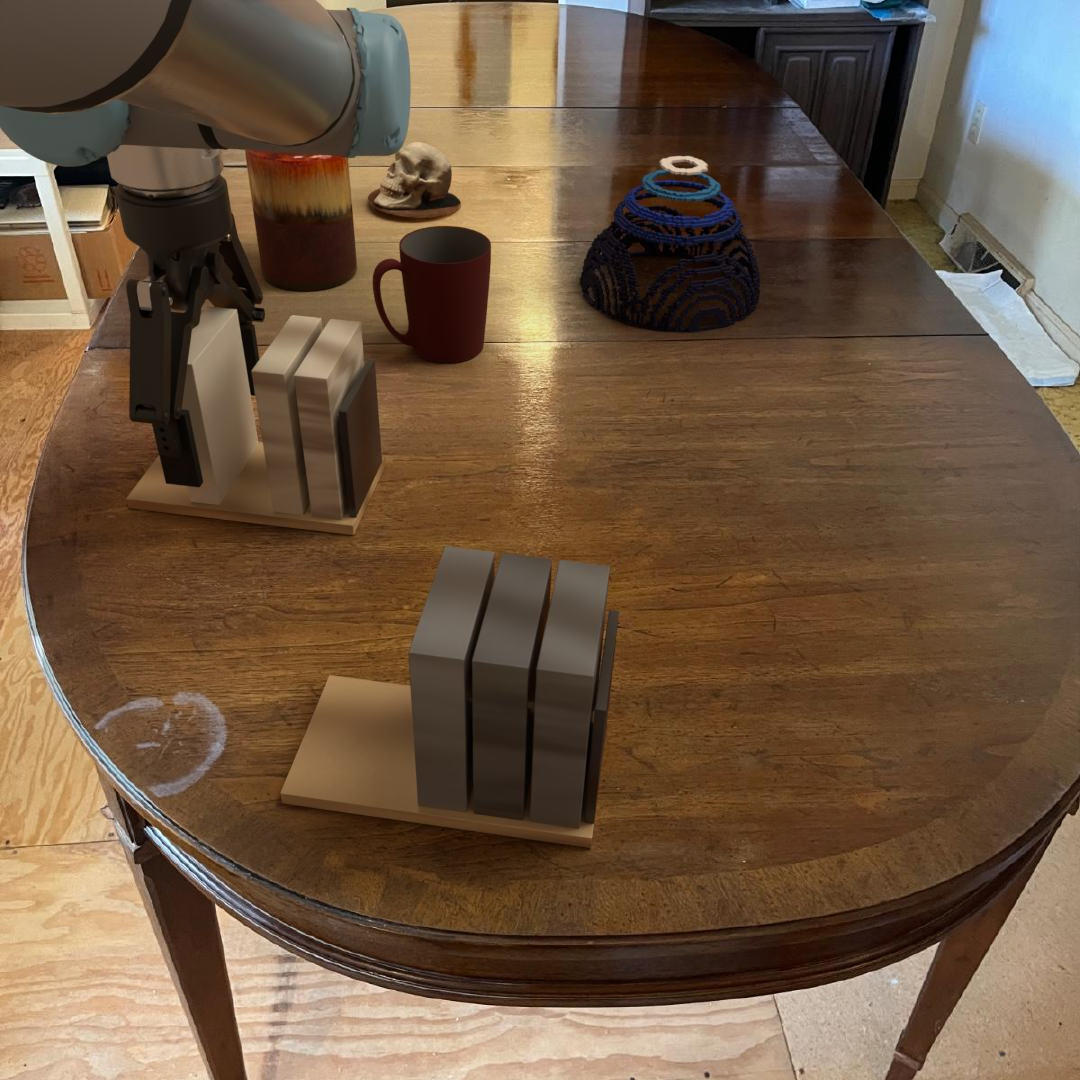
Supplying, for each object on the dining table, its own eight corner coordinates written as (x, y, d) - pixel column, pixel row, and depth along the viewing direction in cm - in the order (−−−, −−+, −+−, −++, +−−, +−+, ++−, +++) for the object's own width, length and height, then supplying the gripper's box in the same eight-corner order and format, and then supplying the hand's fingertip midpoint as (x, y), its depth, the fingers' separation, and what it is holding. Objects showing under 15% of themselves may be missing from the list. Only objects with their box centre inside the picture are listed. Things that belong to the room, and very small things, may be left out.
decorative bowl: (555, 263, 126) (560, 140, 117) (706, 244, 132) (722, 126, 123) (622, 342, 112) (634, 208, 102) (788, 317, 117) (813, 188, 108)
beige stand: (353, 535, 85) (338, 383, 76) (128, 508, 87) (87, 357, 78) (386, 465, 93) (375, 319, 84) (178, 441, 95) (146, 296, 86)
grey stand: (591, 848, 63) (608, 685, 54) (281, 803, 65) (249, 638, 56) (607, 721, 71) (624, 561, 62) (330, 684, 73) (309, 523, 64)
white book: (220, 505, 86) (192, 364, 78) (190, 502, 86) (159, 360, 78) (258, 444, 93) (237, 308, 85) (231, 441, 93) (207, 305, 85)
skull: (394, 223, 131) (366, 144, 130) (374, 253, 140) (347, 179, 140) (480, 203, 135) (453, 127, 135) (455, 233, 145) (429, 162, 145)
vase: (296, 244, 128) (275, 65, 115) (374, 262, 125) (362, 80, 112) (242, 279, 120) (213, 91, 107) (324, 299, 117) (304, 108, 104)
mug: (397, 382, 104) (390, 277, 97) (362, 342, 110) (354, 240, 103) (505, 355, 109) (507, 253, 102) (467, 318, 114) (466, 219, 107)
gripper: (143, 257, 64) (202, 533, 77) (282, 126, 83) (310, 365, 96) (25, 246, 64) (104, 521, 78) (190, 118, 84) (230, 356, 97)
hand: (218, 435), depth 87 cm, fingers open, 13 cm apart
